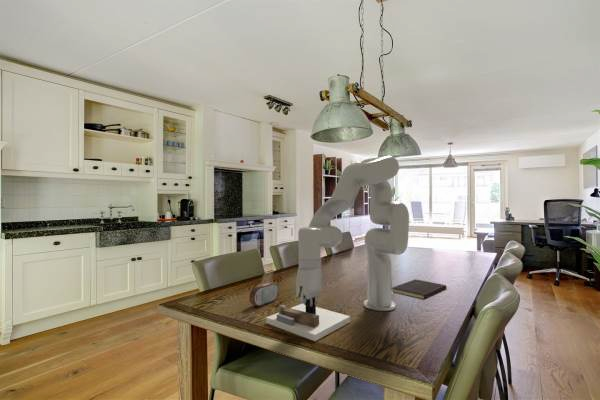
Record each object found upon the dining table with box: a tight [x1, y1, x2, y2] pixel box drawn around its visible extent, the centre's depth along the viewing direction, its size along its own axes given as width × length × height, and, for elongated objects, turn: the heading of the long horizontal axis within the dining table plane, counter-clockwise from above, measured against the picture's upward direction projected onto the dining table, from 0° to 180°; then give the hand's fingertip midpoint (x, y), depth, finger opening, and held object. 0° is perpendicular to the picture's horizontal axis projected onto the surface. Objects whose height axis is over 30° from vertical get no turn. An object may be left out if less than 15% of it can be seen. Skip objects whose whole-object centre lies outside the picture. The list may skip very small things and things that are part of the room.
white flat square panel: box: [265, 303, 351, 342], centre depth 111 cm, size 20×22×4 cm
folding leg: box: [278, 304, 319, 327], centre depth 107 cm, size 16×3×4 cm, turn 54°
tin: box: [248, 281, 279, 307], centre depth 132 cm, size 15×3×8 cm, turn 141°
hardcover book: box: [392, 278, 448, 300], centre depth 150 cm, size 16×23×2 cm
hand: (310, 316), depth 108 cm, fingers closed
